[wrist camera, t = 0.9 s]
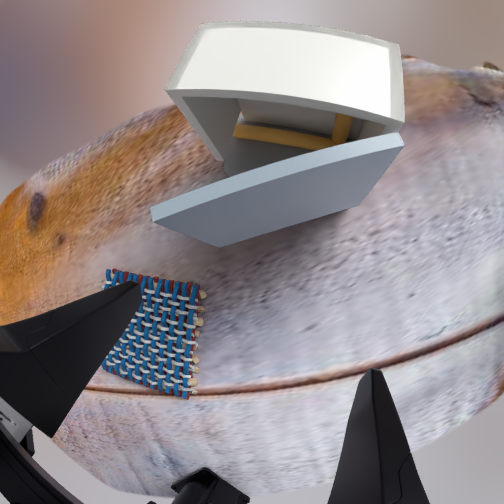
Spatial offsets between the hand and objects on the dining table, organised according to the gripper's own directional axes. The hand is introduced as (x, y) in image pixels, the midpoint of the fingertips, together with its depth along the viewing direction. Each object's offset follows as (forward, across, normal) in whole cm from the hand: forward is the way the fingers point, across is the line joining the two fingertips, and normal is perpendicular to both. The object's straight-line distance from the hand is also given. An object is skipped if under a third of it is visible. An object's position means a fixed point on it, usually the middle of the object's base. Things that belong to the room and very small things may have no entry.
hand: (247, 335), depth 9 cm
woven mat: (+6, +10, +13) cm, 18 cm away
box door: (+11, +1, +1) cm, 11 cm away
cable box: (+17, +2, -2) cm, 17 cm away
